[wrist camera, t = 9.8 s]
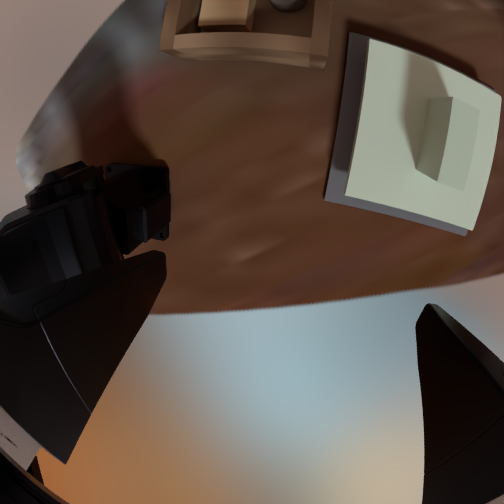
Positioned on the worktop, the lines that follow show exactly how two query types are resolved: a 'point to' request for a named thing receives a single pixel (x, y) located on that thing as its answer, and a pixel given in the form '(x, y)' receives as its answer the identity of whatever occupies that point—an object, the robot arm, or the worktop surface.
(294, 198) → the worktop surface
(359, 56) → the mat
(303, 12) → the crate
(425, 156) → the lid
